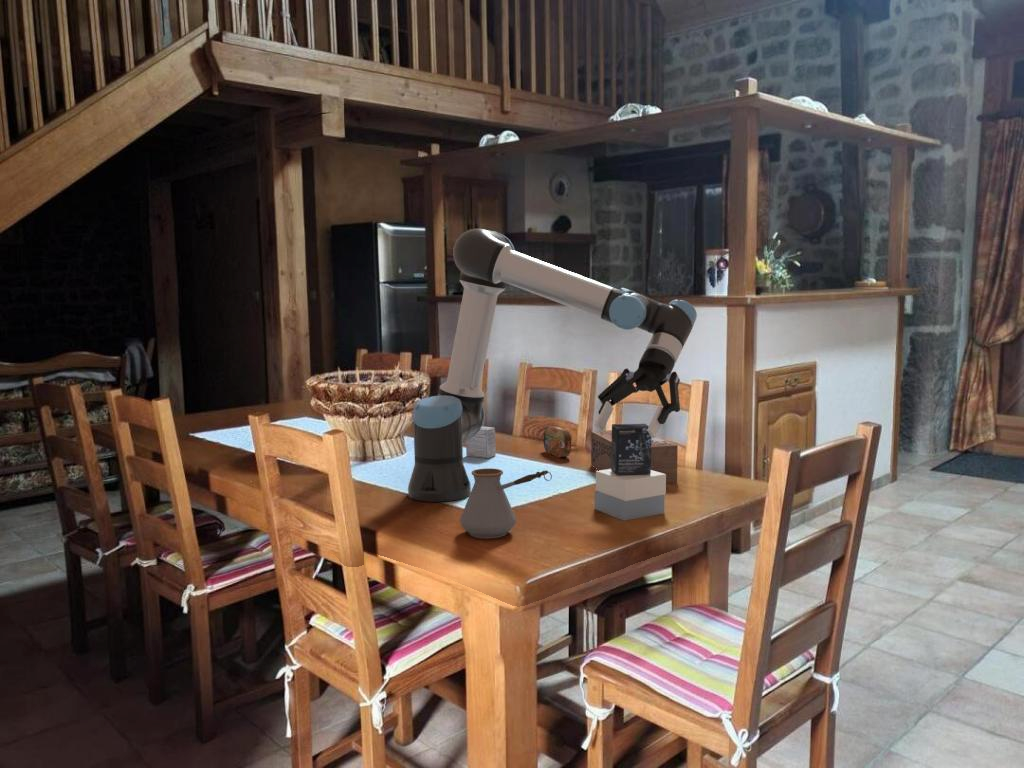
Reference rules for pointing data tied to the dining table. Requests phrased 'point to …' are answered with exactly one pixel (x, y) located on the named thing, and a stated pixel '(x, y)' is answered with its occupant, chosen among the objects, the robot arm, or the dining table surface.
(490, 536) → the coffee pot
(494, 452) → the medicine box
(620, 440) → the box
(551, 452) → the tin
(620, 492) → the tower top
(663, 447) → the tissue box cover
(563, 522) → the dining table surface
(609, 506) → the block
